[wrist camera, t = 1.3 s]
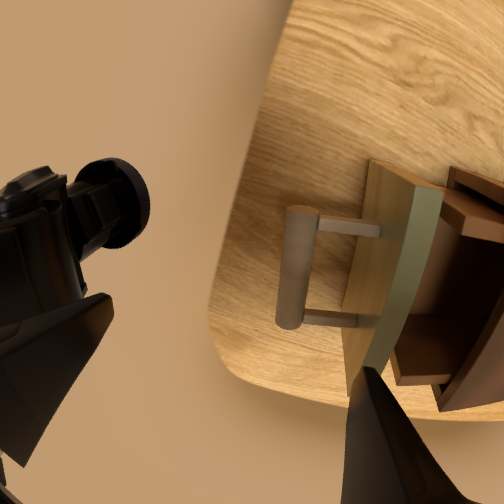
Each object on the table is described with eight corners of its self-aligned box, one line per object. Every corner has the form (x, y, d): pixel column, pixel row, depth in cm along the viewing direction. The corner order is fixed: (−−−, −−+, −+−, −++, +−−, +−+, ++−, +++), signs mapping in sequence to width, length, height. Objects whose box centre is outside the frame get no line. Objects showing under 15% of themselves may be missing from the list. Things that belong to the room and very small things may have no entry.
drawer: (277, 310, 19) (264, 390, 13) (293, 148, 14) (286, 166, 8) (478, 323, 17) (512, 383, 11) (522, 199, 12) (584, 237, 6)
